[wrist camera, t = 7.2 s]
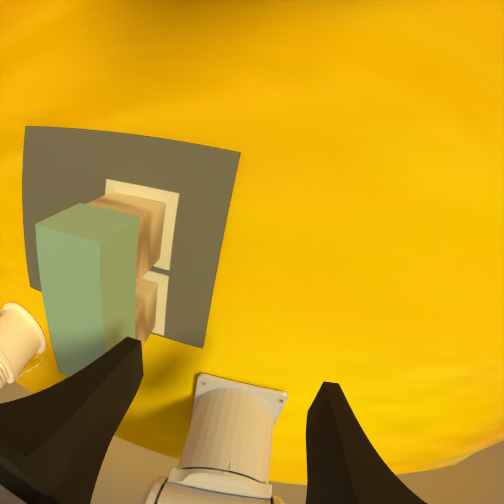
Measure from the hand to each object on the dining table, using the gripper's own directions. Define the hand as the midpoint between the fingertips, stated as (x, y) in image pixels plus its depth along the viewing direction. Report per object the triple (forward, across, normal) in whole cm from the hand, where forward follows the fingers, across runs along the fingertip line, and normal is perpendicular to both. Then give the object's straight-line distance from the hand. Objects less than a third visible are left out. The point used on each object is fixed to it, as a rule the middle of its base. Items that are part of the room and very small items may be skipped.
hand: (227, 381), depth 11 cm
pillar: (+10, +8, -1) cm, 13 cm away
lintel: (+6, +8, +1) cm, 10 cm away
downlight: (+10, +24, +14) cm, 30 cm away
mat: (+10, +12, 0) cm, 16 cm away
